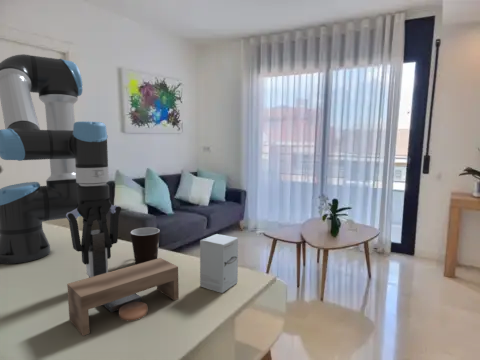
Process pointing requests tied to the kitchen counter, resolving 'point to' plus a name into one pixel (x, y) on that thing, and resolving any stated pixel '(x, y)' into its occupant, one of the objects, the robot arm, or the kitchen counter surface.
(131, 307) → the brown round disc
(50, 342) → the kitchen counter surface
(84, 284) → the bench
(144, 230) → the coffee mug
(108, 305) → the dark gray angled bracket
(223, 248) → the supplement box
